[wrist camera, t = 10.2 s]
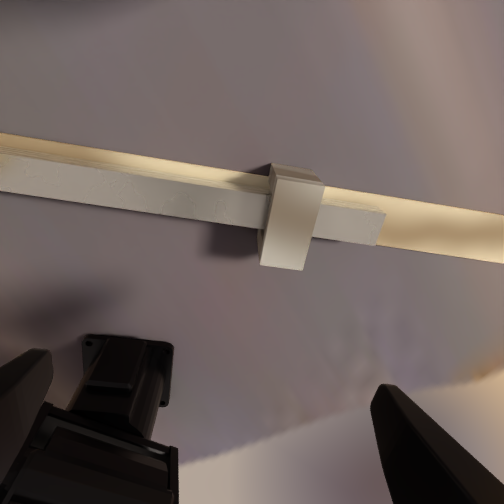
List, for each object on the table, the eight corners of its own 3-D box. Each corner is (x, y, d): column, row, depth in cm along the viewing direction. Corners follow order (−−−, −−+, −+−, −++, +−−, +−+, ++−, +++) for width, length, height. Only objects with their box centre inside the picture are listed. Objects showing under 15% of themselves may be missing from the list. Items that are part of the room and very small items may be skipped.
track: (500, 272, 23) (541, 303, 20) (-431, 138, 18) (-580, 151, 15) (537, 207, 21) (590, 230, 18) (-506, 32, 16) (-698, 19, 12)
